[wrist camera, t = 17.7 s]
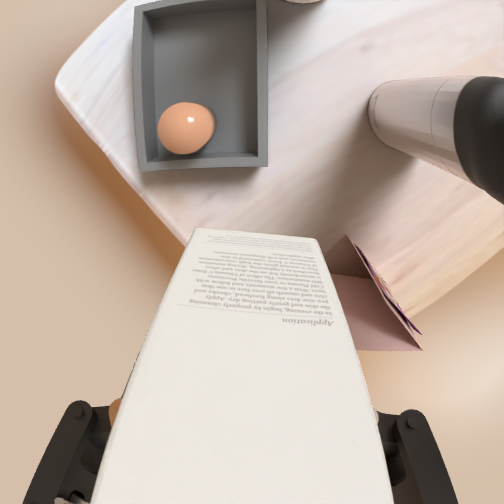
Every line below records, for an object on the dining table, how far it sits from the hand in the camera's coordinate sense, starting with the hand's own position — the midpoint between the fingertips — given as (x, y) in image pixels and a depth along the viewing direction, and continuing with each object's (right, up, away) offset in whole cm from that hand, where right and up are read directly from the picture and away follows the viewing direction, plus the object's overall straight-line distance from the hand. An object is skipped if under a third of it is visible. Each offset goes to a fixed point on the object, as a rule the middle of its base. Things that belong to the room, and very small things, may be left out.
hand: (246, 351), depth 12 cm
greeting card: (+15, +2, +28) cm, 32 cm away
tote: (-5, +24, +16) cm, 30 cm away
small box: (0, +2, +4) cm, 5 cm away
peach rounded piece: (-6, +19, +17) cm, 27 cm away
